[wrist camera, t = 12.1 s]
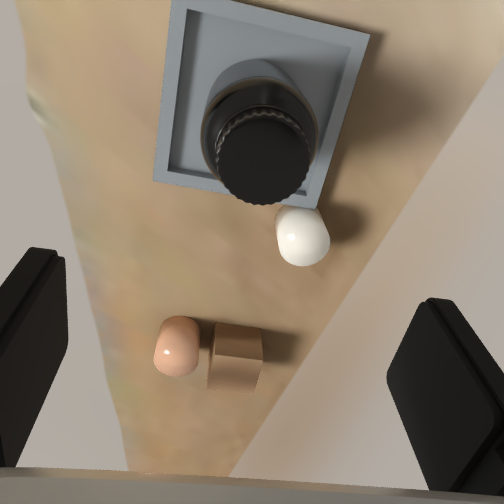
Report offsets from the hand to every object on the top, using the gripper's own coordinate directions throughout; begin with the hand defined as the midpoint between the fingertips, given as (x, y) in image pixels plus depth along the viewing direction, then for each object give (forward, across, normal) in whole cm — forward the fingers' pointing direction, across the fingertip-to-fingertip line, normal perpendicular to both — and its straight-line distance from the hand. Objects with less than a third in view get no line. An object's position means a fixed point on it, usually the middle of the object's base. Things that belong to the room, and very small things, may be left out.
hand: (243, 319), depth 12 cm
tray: (+24, -1, 0) cm, 24 cm away
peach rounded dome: (+24, +2, +22) cm, 33 cm away
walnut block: (+24, -4, +23) cm, 34 cm away
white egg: (+24, -7, +9) cm, 27 cm away
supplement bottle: (+24, -1, 0) cm, 24 cm away
